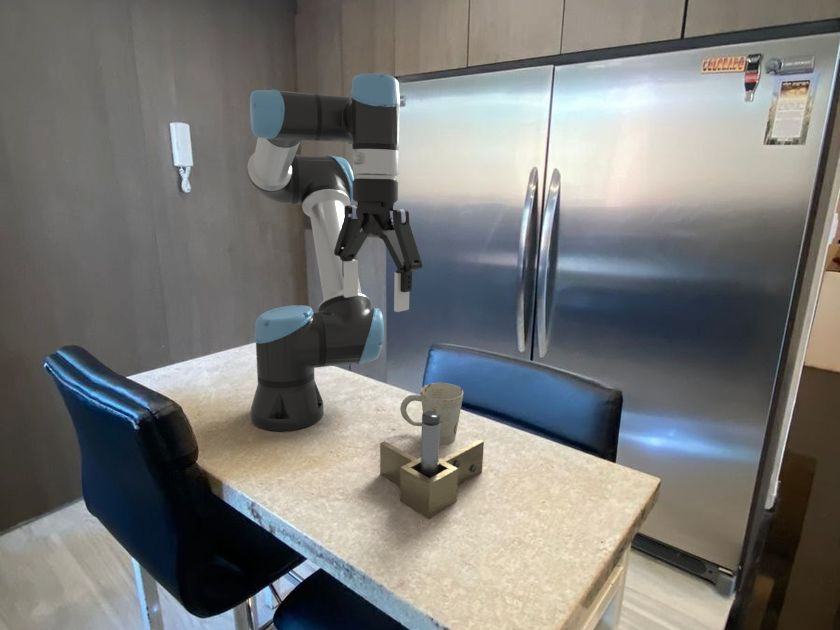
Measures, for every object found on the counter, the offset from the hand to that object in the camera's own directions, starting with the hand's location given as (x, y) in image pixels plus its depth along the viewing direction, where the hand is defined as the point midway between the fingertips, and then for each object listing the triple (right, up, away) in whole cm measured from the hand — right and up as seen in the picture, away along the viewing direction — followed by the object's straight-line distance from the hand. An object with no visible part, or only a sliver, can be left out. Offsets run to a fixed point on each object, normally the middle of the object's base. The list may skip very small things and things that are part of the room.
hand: (375, 303), depth 91 cm
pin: (+9, -32, -8) cm, 34 cm away
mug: (+10, -27, +14) cm, 31 cm away
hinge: (+10, -30, -1) cm, 32 cm away
